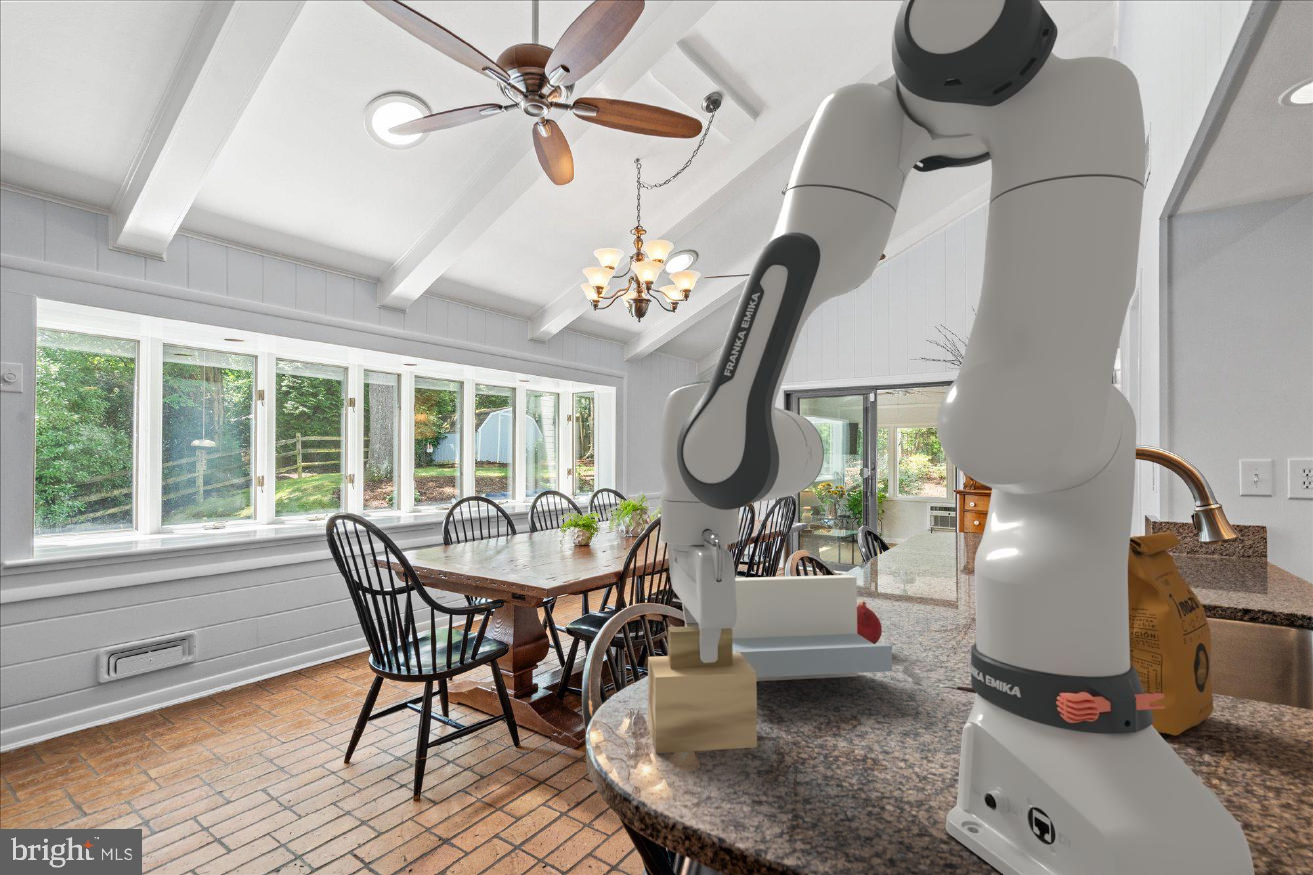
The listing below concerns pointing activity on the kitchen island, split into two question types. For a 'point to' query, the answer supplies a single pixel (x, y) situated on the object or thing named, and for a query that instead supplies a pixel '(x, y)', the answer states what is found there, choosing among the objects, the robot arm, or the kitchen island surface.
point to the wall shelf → (803, 628)
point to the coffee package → (1168, 635)
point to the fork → (925, 682)
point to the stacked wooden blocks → (701, 696)
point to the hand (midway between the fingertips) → (700, 648)
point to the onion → (868, 623)
